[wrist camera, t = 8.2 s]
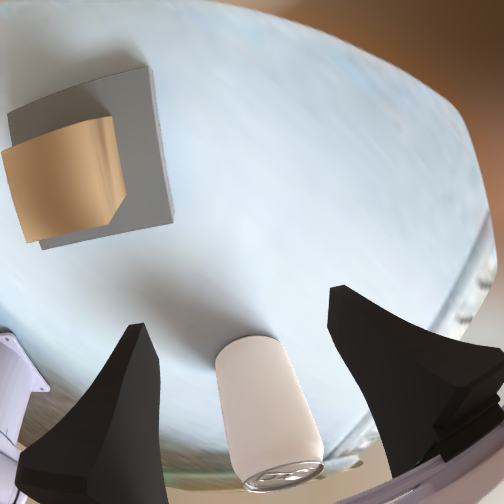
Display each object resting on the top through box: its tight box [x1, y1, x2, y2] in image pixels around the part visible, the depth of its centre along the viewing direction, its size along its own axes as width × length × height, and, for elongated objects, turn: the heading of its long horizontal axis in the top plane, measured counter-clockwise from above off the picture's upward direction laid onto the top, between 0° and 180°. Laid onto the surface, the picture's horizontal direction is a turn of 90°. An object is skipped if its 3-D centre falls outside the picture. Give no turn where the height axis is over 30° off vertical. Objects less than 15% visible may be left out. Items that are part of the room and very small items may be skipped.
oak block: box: [1, 116, 127, 243], centre depth 13 cm, size 4×4×4 cm
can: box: [215, 335, 325, 493], centre depth 21 cm, size 6×6×12 cm
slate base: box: [7, 67, 175, 250], centre depth 15 cm, size 9×9×2 cm
